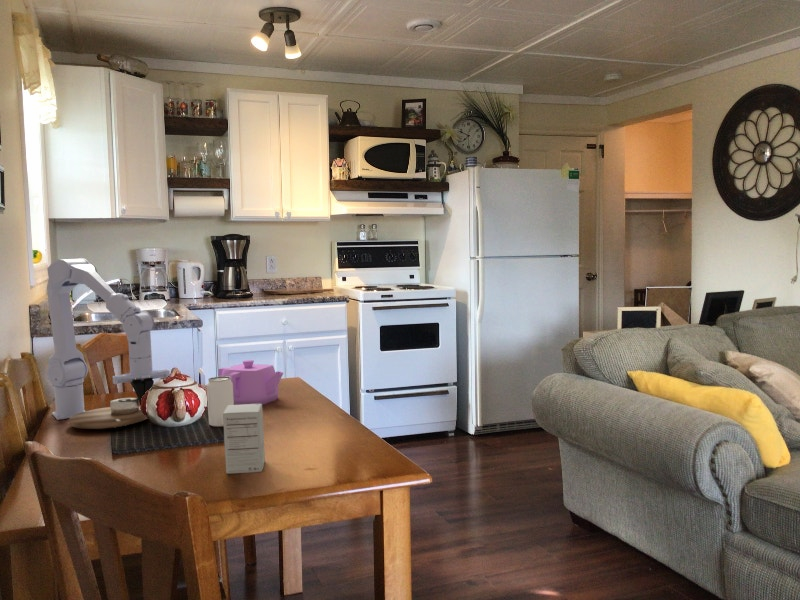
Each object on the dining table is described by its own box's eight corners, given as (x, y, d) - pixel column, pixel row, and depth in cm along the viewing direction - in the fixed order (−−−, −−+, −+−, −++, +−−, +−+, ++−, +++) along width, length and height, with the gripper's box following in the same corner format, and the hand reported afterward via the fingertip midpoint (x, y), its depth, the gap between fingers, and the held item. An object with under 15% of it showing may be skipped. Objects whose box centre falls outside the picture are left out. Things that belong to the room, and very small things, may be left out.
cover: (108, 412, 191) (107, 399, 190) (135, 408, 195) (134, 395, 194) (114, 416, 185) (113, 404, 185) (142, 412, 189) (141, 400, 189)
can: (228, 427, 180) (225, 380, 179) (204, 426, 182) (202, 380, 181) (238, 421, 187) (236, 376, 186) (215, 420, 188) (213, 375, 187)
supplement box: (230, 463, 150) (227, 404, 149) (265, 461, 151) (263, 402, 150) (224, 474, 143) (221, 412, 142) (262, 472, 144) (259, 410, 143)
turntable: (63, 417, 191) (63, 413, 190) (140, 406, 202) (140, 402, 202) (77, 433, 174) (76, 428, 174) (159, 419, 185) (159, 415, 185)
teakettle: (216, 399, 215) (214, 359, 214) (271, 393, 222) (270, 354, 221) (226, 410, 200) (224, 367, 199) (285, 403, 206) (283, 361, 205)
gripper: (115, 362, 184) (118, 413, 185) (171, 355, 192) (174, 405, 193) (109, 358, 190) (112, 408, 191) (164, 352, 198) (167, 400, 199)
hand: (143, 406), depth 192 cm, fingers closed
